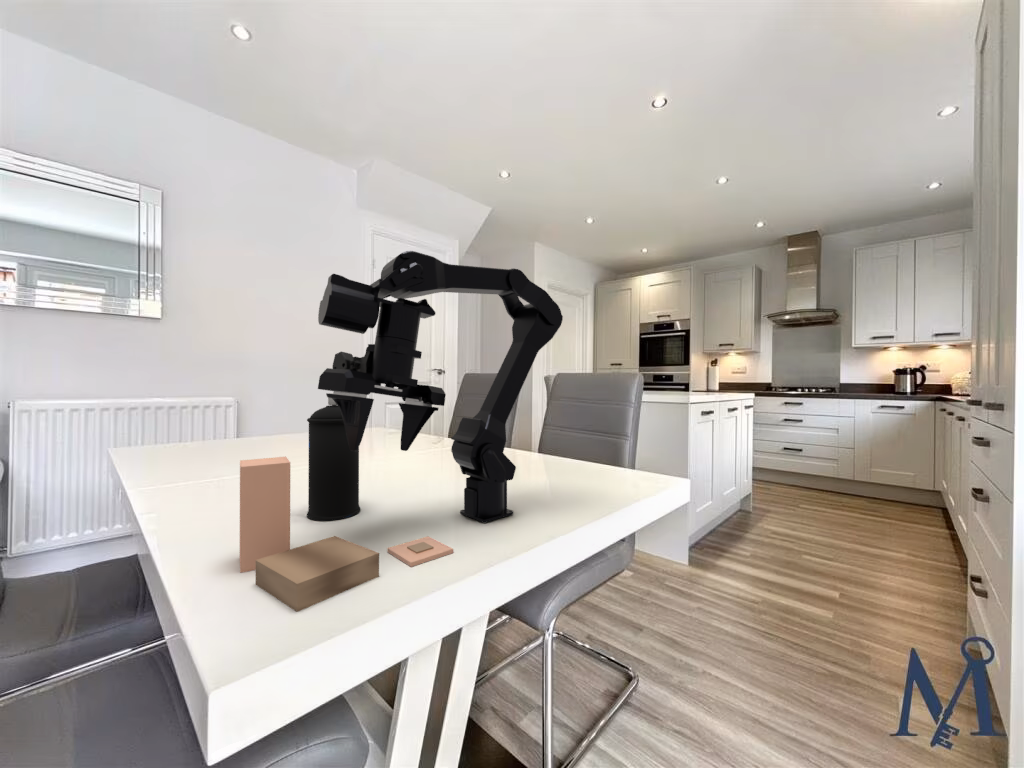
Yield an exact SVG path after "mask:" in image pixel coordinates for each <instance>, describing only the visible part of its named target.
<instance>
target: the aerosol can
mask: <svg viewBox="0 0 1024 768" xmlns="http://www.w3.org/2000/svg"><path fill="white" fill-rule="evenodd" d="M328 394H333V392H328ZM327 398H328V397H327ZM306 422H308V496H307V497H308V498H307V499H308V511H307V512H306V517H307V519H309V520H312V521H319V522H328V521H339V520H344V519H347V518H351V517H354V516H356V515H358V514H359V513H360V512H361V506H360V505H359V504H360V473H359V472H360V447H359V448H358V450H357V451H352V450H350V449H349V444H348V439H347V434H346V430H345V425H344V420H343V417H342V414H341V411H340V408H339V406H338V405H337V404H336V403H335V401H334V400H333V399H332V398H328V399H327V405H326V406H324V407H321V408H319V409H317V410H315V411H314V412H313V413H311V415H310V417H308V418H307V419H306Z"/></svg>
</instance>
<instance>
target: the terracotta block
mask: <svg viewBox="0 0 1024 768" xmlns="http://www.w3.org/2000/svg"><path fill="white" fill-rule="evenodd" d="M290 549H291V461H290V460H289V458H288V457H287V456H277V457H276V456H275V457H266V458H265V457H264V458H263V457H262V458H253V459H242V460H241V459H240V460H239V572H240V573H241V574H242V573H247V572H251V571H256V560H258V559H261V558H264V557H268V556H271V555H274V554H277V553H281V552H284V551H287V550H290Z"/></svg>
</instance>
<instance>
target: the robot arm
mask: <svg viewBox="0 0 1024 768" xmlns="http://www.w3.org/2000/svg"><path fill="white" fill-rule="evenodd" d="M439 293H451V294H452V293H456V294H457V293H458V294H475V295H476V294H480V295H497V296H499V297H500V299H501V300H502V302H503V305H504V308H505V310H506V313H507V314H508V315H509V317H510V318H512V320H513V323H512V328H511V332H512V333H511V334H512V341H511V345H510V346H509V349H508V351H507V353H506V355H505V358H504V359H503V361H502V363H501V365H500V367H499V370H498V372H497V374H496V376H495V378H494V381H493V382H492V385H491V386H490V389H489V391H488V392H487V395H486V397H485V399H484V400H483V403H482V404H481V407H480V410H479V411H478V412H477V413H476V414H475V416H473V417H472V418H471V417H465V416H463V417H461V419H460V421H459V424H458V428H457V431H456V432H455V433H454V435H452V437H450V438H451V440H453V443H452V445H451V450H450V451H451V454H452V458H453V460H454V461H455V463H457V464H458V465H459V468H460V470H461V471H460V472H461V474H462V475H467V476H468V477H465V487H464V490H463V504H464V505H463V506H464V507H463V509H461V510H460V513H459V514H461V515H463V516H465V517H468V518H471V519H473V520H475V521H478V522H481V523H488V522H492V521H495V520H498V519H499V520H500V519H501V518H504V517H505V518H506V517H508V516H512V515H514V510H512V509H509V508H508V481H512V480H513V479H514V477H515V473H516V469H517V466H516V465H515V464H514V463H513V462H512V461H511V460H510V459H509V458H508V457H507V455H506V454H505V453H504V451H505V448H506V444H507V432H506V431H507V430H506V424H507V421H508V420H509V416H510V414H511V412H512V410H513V408H514V406H515V404H516V401H517V399H518V398H519V396H520V393H521V391H522V388H523V386H524V384H525V382H526V379H527V378H528V375H529V373H530V371H531V368H532V366H533V365H534V362H535V361H536V360H535V359H536V358H537V355H538V353H539V351H540V350H542V348H543V347H545V346H546V345H547V344H548V343H549V342H551V340H553V338H554V336H555V335H556V334H557V332H558V331H559V329H560V327H561V326H562V323H563V318H564V316H563V315H562V310H561V308H560V306H559V305H558V304H557V302H556V301H554V299H553V298H552V297H551V296H550V294H549V293H548V292H547V291H546V290H545V289H543V288H542V287H540V286H539V285H537V284H535V283H534V282H533V281H531V280H530V279H529V278H528V277H527V275H526V274H525V273H524V272H523V271H522V270H520V269H519V268H510V269H507V268H498V267H497V268H494V267H485V266H484V267H483V266H473V265H460V264H451V263H447V262H443V261H441V260H440V259H438V258H436V257H435V256H432V255H429V254H425V253H421V252H418V251H413V250H406V251H403V252H401V253H400V254H398V255H397V256H396V257H393V259H391V260H389V261H388V262H387V263H386V264H385V265H384V266H383V267H382V270H381V272H380V278H378V279H376V280H375V281H374V282H372V283H370V284H366V283H363V282H359V281H356V280H352V279H349V278H346V277H345V276H343V275H341V274H336V273H331V275H330V276H328V279H327V285H326V286H325V288H324V292H323V296H322V300H320V302H319V308H318V318H317V319H318V320H317V321H318V325H320V326H324V327H329V328H334V329H339V330H343V331H348V332H352V333H357V334H361V335H363V334H365V333H367V332H368V329H375V327H376V325H377V327H376V332H375V340H374V343H370V344H369V343H368V344H367V347H366V348H365V353H364V355H363V356H362V357H358V356H354V355H353V354H352V353H348V352H345V351H340V352H338V353H337V352H336V353H335V354H334V358H333V362H332V368H330V367H329V368H328V367H326V368H325V369H324V371H323V372H322V373H321V374H320V375H319V379H318V384H317V390H321V391H322V390H323V391H329V392H332V393H333V394H328V393H329V392H328V393H327V392H326V398H332V399H333V400H334V401H335V403H336V404H337V405H338V406H339V408H340V411H341V414H342V417H343V420H344V425H345V430H346V434H347V439H348V444H349V449H350V450H352V451H357V450H358V448H359V449H360V445H361V443H362V439H363V437H364V433H365V429H366V428H367V423H368V421H369V417H370V413H371V411H372V407H373V404H374V401H375V399H374V398H369V397H367V396H369V395H370V394H378V395H384V396H391V397H397V398H401V399H402V401H403V402H404V403H403V402H402V403H401V402H398V405H399V407H400V410H401V412H402V421H401V422H402V423H401V434H400V450H401V451H402V452H403V451H405V452H406V451H409V449H410V448H411V446H412V444H413V442H414V441H415V440H416V438H417V436H418V435H419V433H420V432H421V430H422V429H423V427H424V426H425V424H426V423H427V422H428V421H429V419H430V418H431V417H432V415H433V414H434V413H435V412H437V411H439V407H437V406H442V407H444V406H445V403H446V395H447V393H446V392H445V391H444V389H443V387H438V386H433V385H428V384H427V385H426V384H418V381H419V380H418V379H416V378H413V371H414V365H415V359H419V360H421V359H422V353H423V352H422V351H420V350H417V345H418V344H417V343H418V336H419V330H420V324H421V319H428V318H431V317H434V316H435V315H436V311H435V310H434V309H433V307H432V306H431V304H429V302H428V300H427V298H423V299H421V300H418V301H414V300H410V299H411V298H412V299H413V298H419V297H424V296H428V295H429V296H430V295H433V294H439ZM390 297H392V298H394V299H396V300H395V301H394V300H393V301H392V300H388V299H386V298H390ZM520 298H521V299H522V300H523V301H525V302H526V303H528V304H523V302H522V301H521V299H520ZM383 385H384V386H383ZM433 405H434V406H433Z"/></svg>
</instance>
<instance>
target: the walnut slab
mask: <svg viewBox="0 0 1024 768" xmlns="http://www.w3.org/2000/svg"><path fill="white" fill-rule="evenodd" d="M379 577H380V553H379V552H377V551H375V550H372V549H370V548H368V547H365V546H362V545H359V544H357V543H355V542H352V541H349V540H346V539H345V538H342V537H340V536H339V537H338V536H337V535H333V536H330V537H327V538H324V539H320V540H317V541H314V542H311V543H307V544H304V545H300V546H298V547H294V548H290V550H287V551H284V552H281V553H277V554H274V555H271V556H268V557H264V558H261V559H258V560H256V570H255V586H257V587H258V588H260V589H261V590H263V591H265V593H267V594H269V595H271V596H272V597H274V598H275V599H276V600H278V601H279V602H281V603H283V605H286V606H287V607H289V608H291V609H292V610H293V611H294V612H295V613H299V612H301V611H303V610H305V609H308V608H310V607H312V606H314V605H317V604H319V603H322V602H324V601H326V600H328V599H330V598H333V597H335V596H338V595H340V594H342V593H345V592H346V591H349V590H351V589H353V588H356V587H358V586H361V585H363V584H365V583H367V582H369V581H372V580H374V579H376V578H379Z"/></svg>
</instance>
